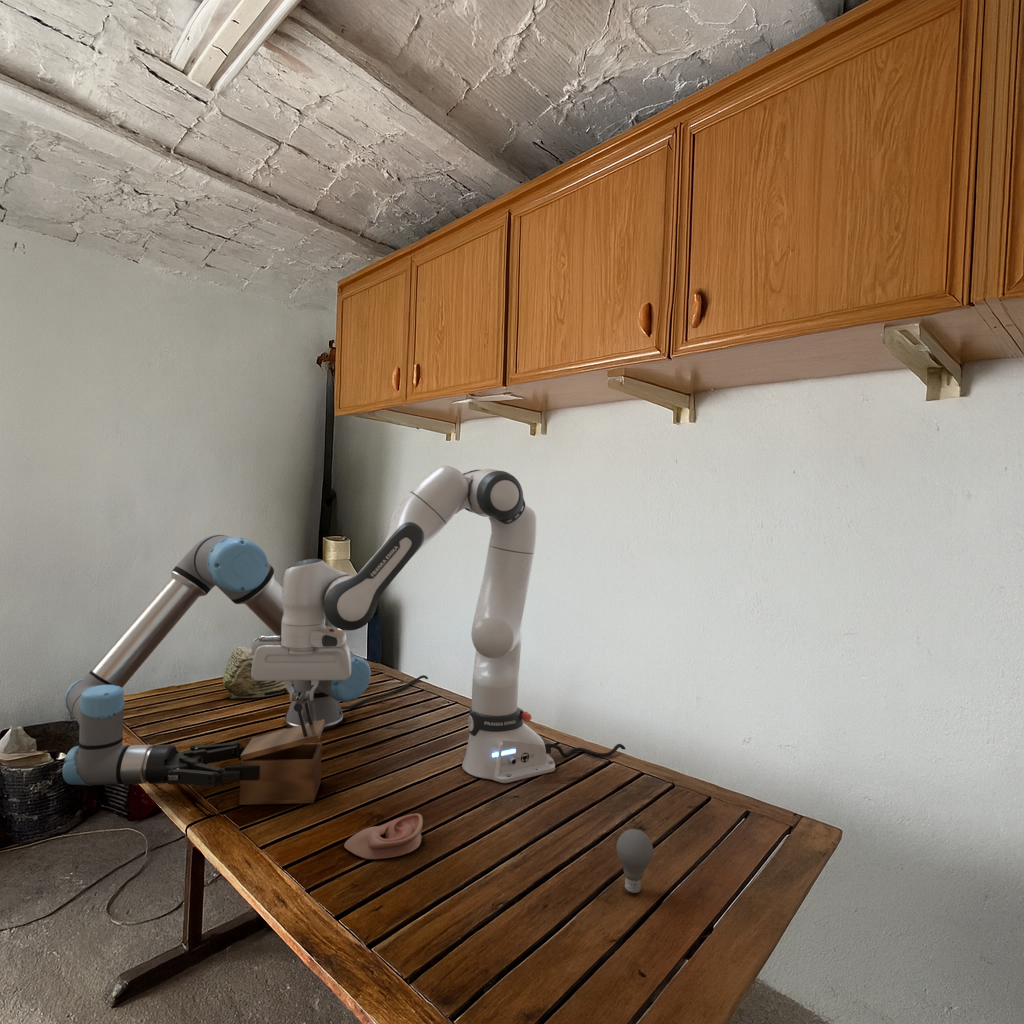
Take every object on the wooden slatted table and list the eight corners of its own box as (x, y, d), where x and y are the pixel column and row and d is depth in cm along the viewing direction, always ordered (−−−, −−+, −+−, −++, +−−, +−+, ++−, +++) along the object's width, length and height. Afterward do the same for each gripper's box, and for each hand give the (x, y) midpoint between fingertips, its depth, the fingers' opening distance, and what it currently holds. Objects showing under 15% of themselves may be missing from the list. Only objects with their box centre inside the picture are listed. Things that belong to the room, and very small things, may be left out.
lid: (325, 724, 140) (316, 687, 140) (318, 740, 131) (309, 701, 130) (253, 743, 138) (244, 706, 137) (241, 761, 129) (231, 721, 128)
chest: (320, 782, 140) (322, 742, 140) (313, 803, 131) (315, 760, 131) (251, 784, 138) (252, 743, 138) (239, 804, 129) (240, 761, 129)
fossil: (218, 695, 195) (220, 647, 195) (278, 685, 208) (279, 640, 207) (228, 703, 189) (230, 653, 188) (289, 692, 201) (290, 645, 201)
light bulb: (610, 879, 108) (613, 822, 108) (644, 879, 109) (647, 822, 109) (619, 902, 102) (622, 840, 102) (655, 901, 103) (658, 840, 103)
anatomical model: (336, 832, 112) (364, 802, 124) (336, 854, 112) (363, 822, 124) (407, 843, 110) (429, 812, 121) (406, 866, 110) (428, 832, 121)
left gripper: (171, 760, 142) (275, 758, 145) (126, 808, 120) (250, 805, 123) (172, 726, 141) (277, 726, 145) (127, 769, 120) (251, 766, 123)
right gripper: (247, 639, 130) (246, 706, 130) (350, 639, 133) (348, 704, 133) (255, 632, 136) (254, 696, 136) (353, 632, 139) (351, 695, 139)
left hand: (264, 762), depth 134 cm, fingers closed on chest, 9 cm apart
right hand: (301, 700), depth 135 cm, fingers closed on lid, 2 cm apart
